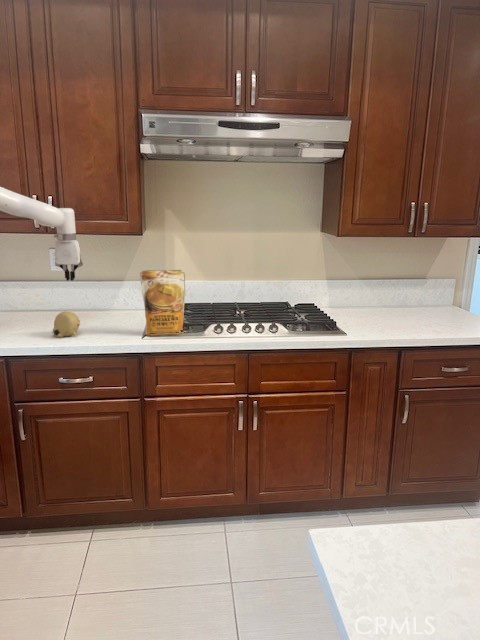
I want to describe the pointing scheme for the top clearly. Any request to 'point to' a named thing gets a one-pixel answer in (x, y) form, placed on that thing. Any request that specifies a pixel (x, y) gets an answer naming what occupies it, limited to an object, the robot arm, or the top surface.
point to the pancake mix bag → (163, 301)
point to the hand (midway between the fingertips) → (70, 279)
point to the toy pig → (66, 324)
